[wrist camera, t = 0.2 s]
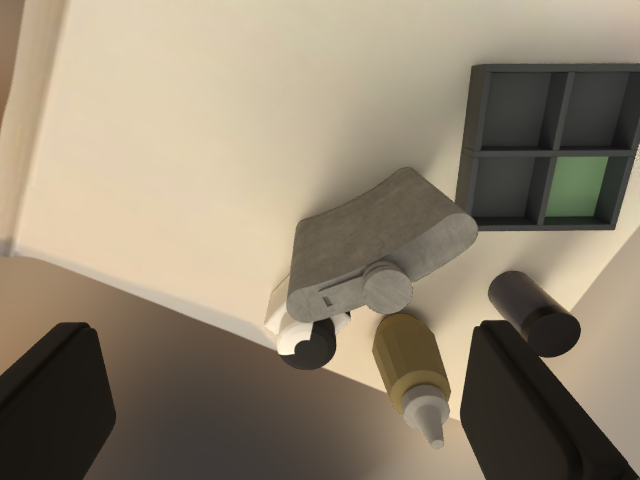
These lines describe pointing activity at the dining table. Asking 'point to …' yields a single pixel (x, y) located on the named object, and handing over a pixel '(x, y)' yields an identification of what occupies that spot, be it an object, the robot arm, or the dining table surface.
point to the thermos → (534, 314)
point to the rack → (548, 145)
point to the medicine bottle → (302, 333)
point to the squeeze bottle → (413, 374)
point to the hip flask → (375, 248)
